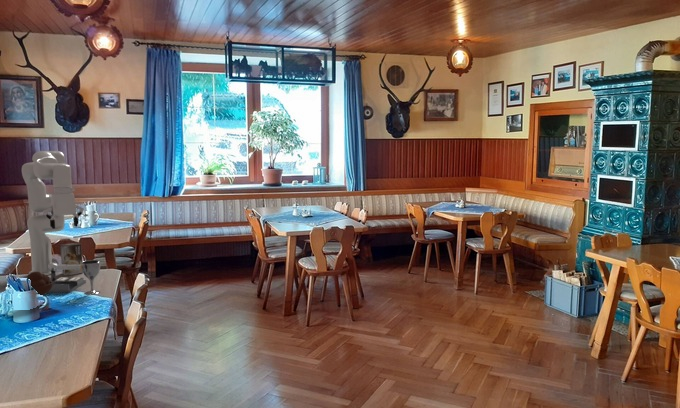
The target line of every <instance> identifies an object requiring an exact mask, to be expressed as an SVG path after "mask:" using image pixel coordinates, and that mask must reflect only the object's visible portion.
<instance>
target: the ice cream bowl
mask: <svg viewBox="0 0 680 408" xmlns="http://www.w3.org/2000/svg"><path fill="white" fill-rule="evenodd" d="M27 275H28V276H27V277H26V279H30V280H31V286H32V287H33V288H34V289H35V290H36V291H37V292H38V294H40V295H43V296H44V295H46V294H49V293H48V291H49V290H50V289H51V288H52V286H53V282H52V281H51V277H49V275H45V274H41V273H40V272H32V273H30V274H29V273H28V274H27Z"/></svg>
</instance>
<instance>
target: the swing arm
mask: <svg viewBox="0 0 680 408" xmlns="http://www.w3.org/2000/svg"><path fill="white" fill-rule="evenodd" d="M58 270H61V271H62V270H81V271H82V264H81V265H77V264H62V263H61V264H58V263H57V262H52V263H50V264H48V271H56V272H57V271H58Z"/></svg>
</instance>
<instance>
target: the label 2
mask: <svg viewBox="0 0 680 408" xmlns="http://www.w3.org/2000/svg"><path fill="white" fill-rule="evenodd" d="M71 278H72V279H70V280H69V281H77V280H78V279H80V278H81V277H71Z"/></svg>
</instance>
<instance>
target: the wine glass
mask: <svg viewBox="0 0 680 408" xmlns="http://www.w3.org/2000/svg"><path fill="white" fill-rule="evenodd" d="M82 271H83V273H82V274H83V276H85V277H86V278H87V279H88V280H89V283H90V290H88V291H85V292H84V293H83V294H84V295H85V296H91V295H92V296H93V295H98V294H100V293H101V291H100V290H96V289H95V290H94V280H95V279H96V277H97V276H98V275H99V274H100V271H101V261H100V260H99V259H89V260H84V261H83V260H82Z"/></svg>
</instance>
